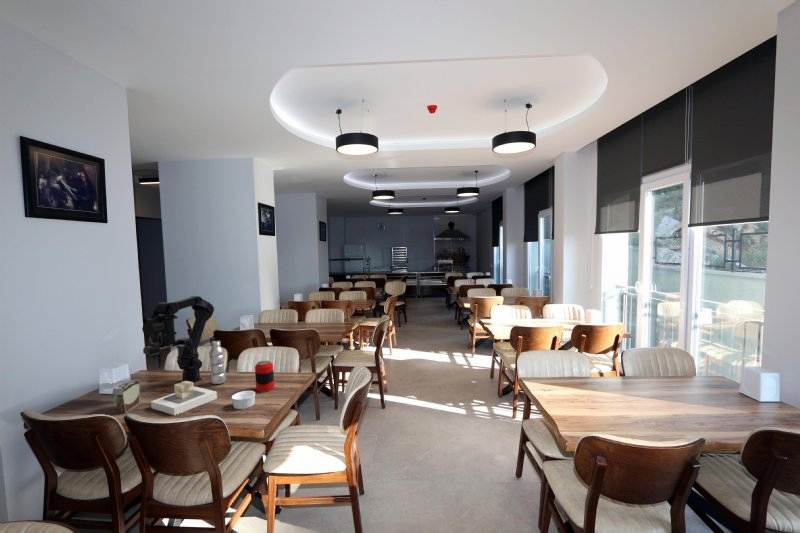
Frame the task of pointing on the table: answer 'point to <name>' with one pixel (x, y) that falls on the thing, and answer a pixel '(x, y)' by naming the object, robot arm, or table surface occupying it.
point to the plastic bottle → (217, 363)
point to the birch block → (184, 389)
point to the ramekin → (243, 399)
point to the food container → (127, 395)
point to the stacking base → (183, 401)
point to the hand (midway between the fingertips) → (169, 364)
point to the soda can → (264, 376)
